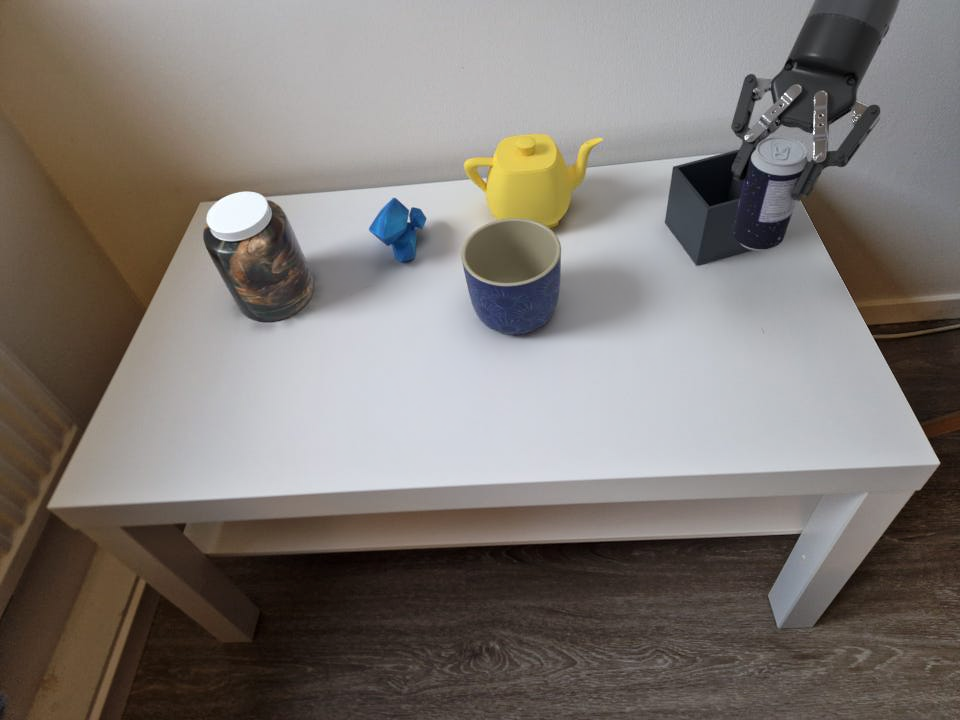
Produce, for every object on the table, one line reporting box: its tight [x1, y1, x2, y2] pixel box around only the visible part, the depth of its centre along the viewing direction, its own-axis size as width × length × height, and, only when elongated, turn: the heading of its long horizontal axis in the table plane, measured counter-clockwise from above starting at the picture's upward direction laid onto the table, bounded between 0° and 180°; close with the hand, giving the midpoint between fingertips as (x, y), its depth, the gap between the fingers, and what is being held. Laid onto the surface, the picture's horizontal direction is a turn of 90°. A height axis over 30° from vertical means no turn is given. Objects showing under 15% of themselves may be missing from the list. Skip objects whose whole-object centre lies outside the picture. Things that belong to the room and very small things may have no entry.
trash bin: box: [664, 148, 752, 266], centre depth 92 cm, size 10×10×10 cm
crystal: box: [368, 197, 427, 263], centre depth 97 cm, size 7×9×12 cm
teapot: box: [463, 133, 604, 229], centre depth 98 cm, size 13×20×12 cm
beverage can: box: [733, 135, 809, 252], centre depth 73 cm, size 6×6×12 cm
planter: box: [460, 218, 562, 335], centre depth 86 cm, size 12×12×11 cm
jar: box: [202, 191, 315, 323], centre depth 92 cm, size 12×12×15 cm
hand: (766, 188), depth 70 cm, fingers closed on beverage can, 5 cm apart
